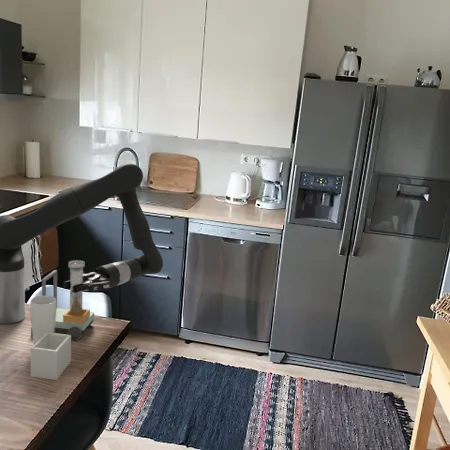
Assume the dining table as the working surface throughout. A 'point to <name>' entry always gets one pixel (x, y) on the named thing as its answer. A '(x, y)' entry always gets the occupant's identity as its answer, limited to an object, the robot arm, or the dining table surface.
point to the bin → (50, 355)
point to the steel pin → (75, 279)
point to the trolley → (68, 313)
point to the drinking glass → (42, 316)
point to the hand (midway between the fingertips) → (68, 287)
